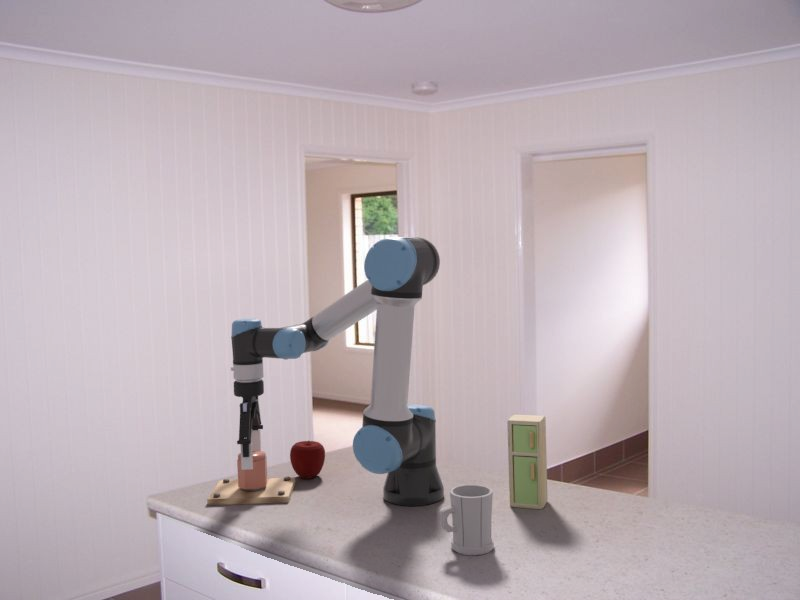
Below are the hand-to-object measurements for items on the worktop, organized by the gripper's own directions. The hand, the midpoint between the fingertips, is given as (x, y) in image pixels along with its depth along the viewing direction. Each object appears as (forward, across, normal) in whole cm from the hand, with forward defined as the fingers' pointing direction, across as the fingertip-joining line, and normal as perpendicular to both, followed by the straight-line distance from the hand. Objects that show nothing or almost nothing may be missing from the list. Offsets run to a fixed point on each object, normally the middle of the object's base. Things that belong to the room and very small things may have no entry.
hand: (251, 461), depth 200 cm
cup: (+8, +42, +51) cm, 67 cm away
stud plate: (+8, 0, 0) cm, 8 cm away
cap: (+6, 0, 0) cm, 6 cm away
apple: (+8, -13, +13) cm, 20 cm away
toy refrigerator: (+8, +16, +68) cm, 70 cm away
